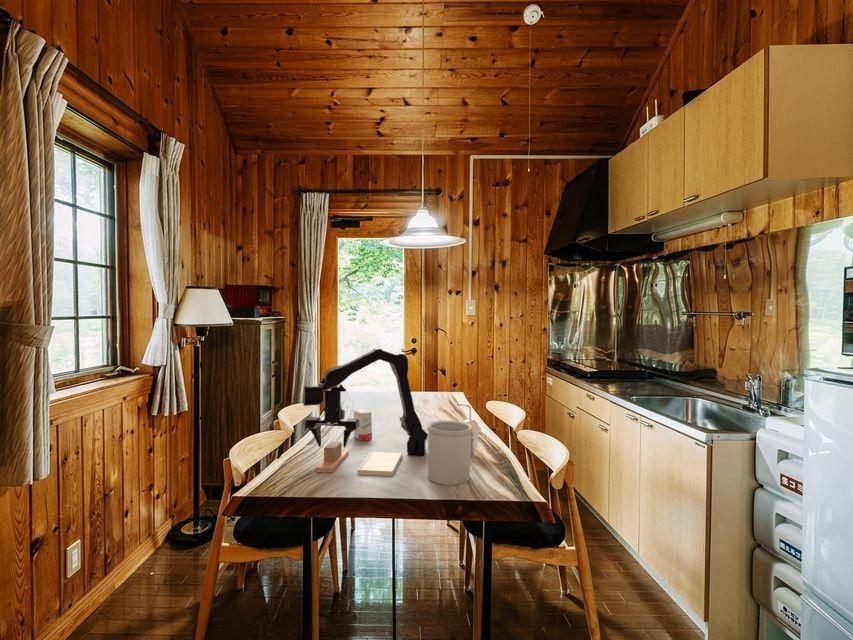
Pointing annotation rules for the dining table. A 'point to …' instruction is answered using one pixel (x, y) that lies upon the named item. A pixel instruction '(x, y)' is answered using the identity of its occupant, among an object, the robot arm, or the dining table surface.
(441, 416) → the dining table surface
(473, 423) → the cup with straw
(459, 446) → the utensil holder
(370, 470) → the board
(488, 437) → the dining table surface
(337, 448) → the stub
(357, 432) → the ink box
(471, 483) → the dining table surface
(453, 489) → the dining table surface
